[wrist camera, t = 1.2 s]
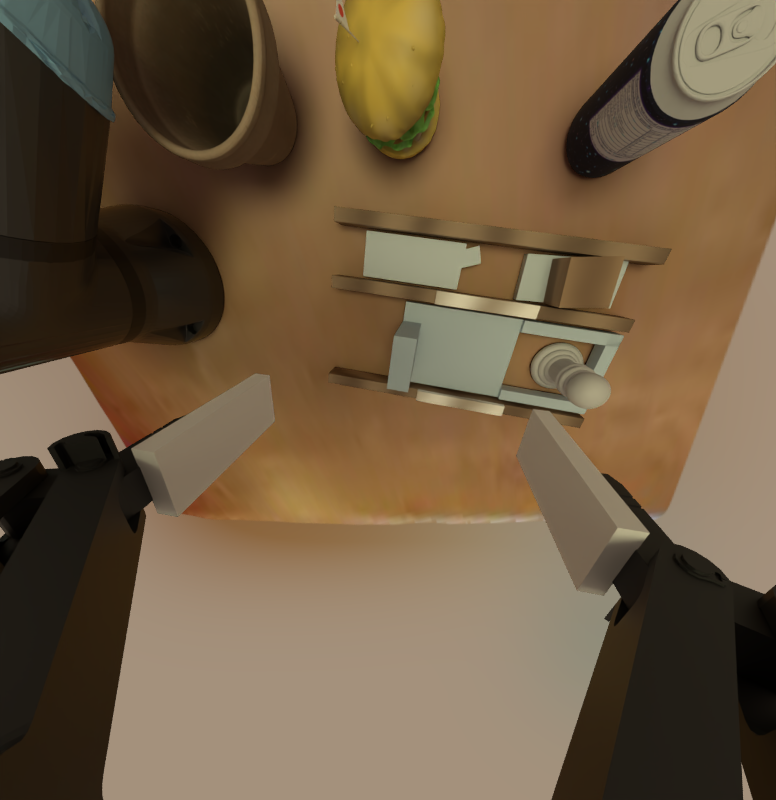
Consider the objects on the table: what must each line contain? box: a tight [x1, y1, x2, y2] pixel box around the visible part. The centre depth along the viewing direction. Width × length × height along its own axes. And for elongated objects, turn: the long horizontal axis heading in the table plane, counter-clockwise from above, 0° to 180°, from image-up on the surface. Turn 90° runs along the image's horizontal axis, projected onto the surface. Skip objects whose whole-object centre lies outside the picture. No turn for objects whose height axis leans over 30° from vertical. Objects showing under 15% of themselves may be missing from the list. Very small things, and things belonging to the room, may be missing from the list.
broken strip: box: [363, 230, 629, 308], centre depth 28 cm, size 25×5×1 cm, turn 82°
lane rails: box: [329, 206, 672, 428], centre depth 30 cm, size 30×18×3 cm, turn 82°
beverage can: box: [566, 0, 776, 178], centre depth 18 cm, size 6×6×12 cm
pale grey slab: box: [387, 301, 624, 414], centre depth 28 cm, size 22×9×9 cm, turn 82°
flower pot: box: [95, 0, 297, 170], centre depth 22 cm, size 12×11×10 cm
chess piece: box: [531, 343, 611, 409], centre depth 27 cm, size 5×5×9 cm
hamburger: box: [334, 0, 445, 159], centre depth 19 cm, size 8×7×12 cm
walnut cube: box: [543, 256, 625, 308], centre depth 25 cm, size 4×4×4 cm
